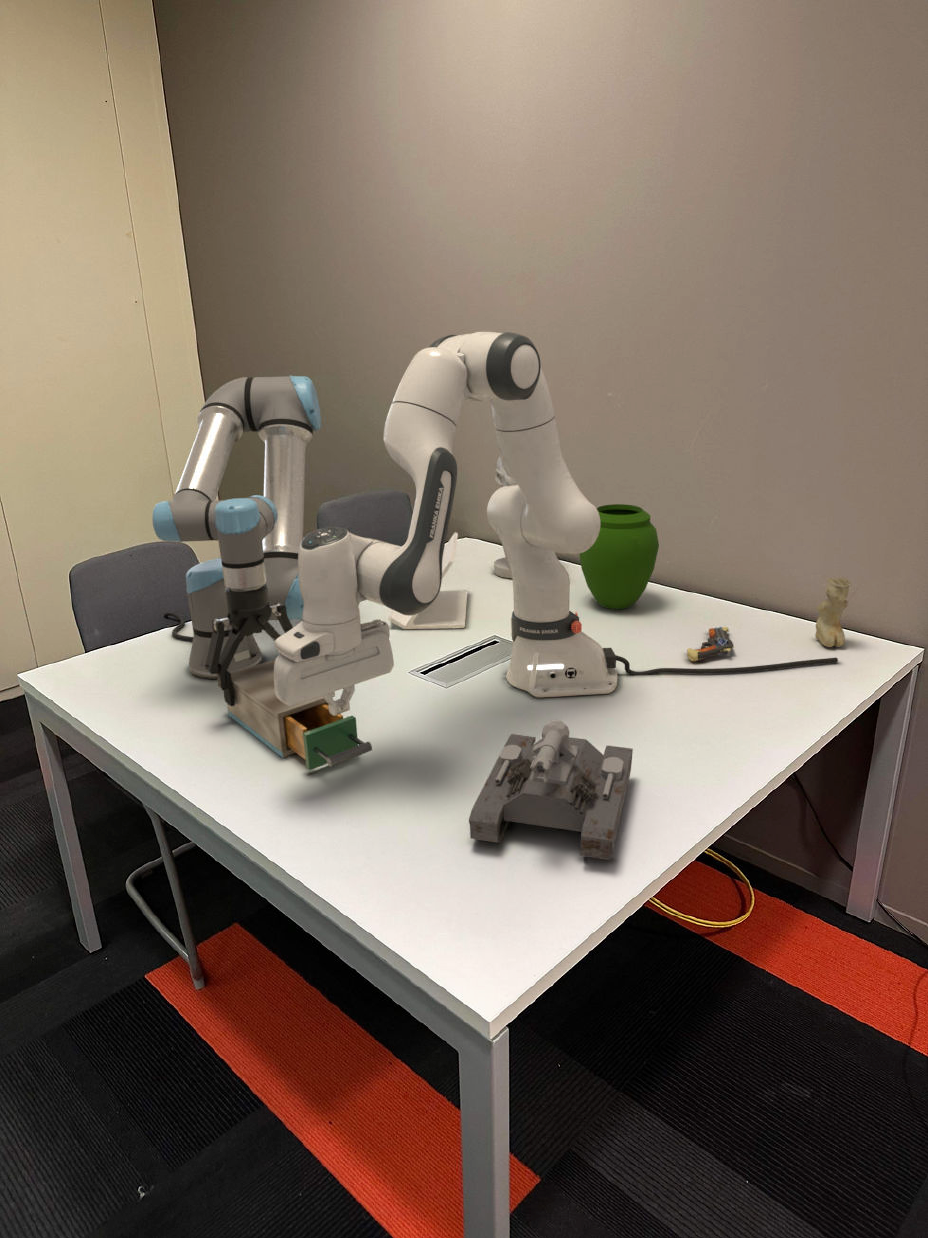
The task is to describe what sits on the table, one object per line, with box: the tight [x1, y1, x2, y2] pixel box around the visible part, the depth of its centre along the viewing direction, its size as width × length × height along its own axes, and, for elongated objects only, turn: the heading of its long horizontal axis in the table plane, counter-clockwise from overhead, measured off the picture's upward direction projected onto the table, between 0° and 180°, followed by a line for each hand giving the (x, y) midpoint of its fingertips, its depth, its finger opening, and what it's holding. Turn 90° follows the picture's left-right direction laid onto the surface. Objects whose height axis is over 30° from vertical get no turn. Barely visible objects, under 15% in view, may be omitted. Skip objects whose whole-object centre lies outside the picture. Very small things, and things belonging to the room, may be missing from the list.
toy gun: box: [686, 626, 735, 662], centre depth 187 cm, size 3×19×10 cm
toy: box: [468, 719, 634, 861], centre depth 127 cm, size 25×20×15 cm
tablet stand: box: [388, 531, 468, 630], centre depth 211 cm, size 18×25×17 cm
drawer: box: [283, 703, 373, 771], centre depth 148 cm, size 26×10×6 cm, turn 39°
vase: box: [578, 503, 660, 610], centre depth 210 cm, size 20×20×24 cm
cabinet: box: [226, 659, 334, 759], centre depth 157 cm, size 22×11×8 cm, turn 39°
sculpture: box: [814, 576, 852, 648], centre depth 185 cm, size 6×7×15 cm
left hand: (259, 694), depth 163 cm, fingers open, 11 cm apart
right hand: (339, 712), depth 138 cm, fingers closed
